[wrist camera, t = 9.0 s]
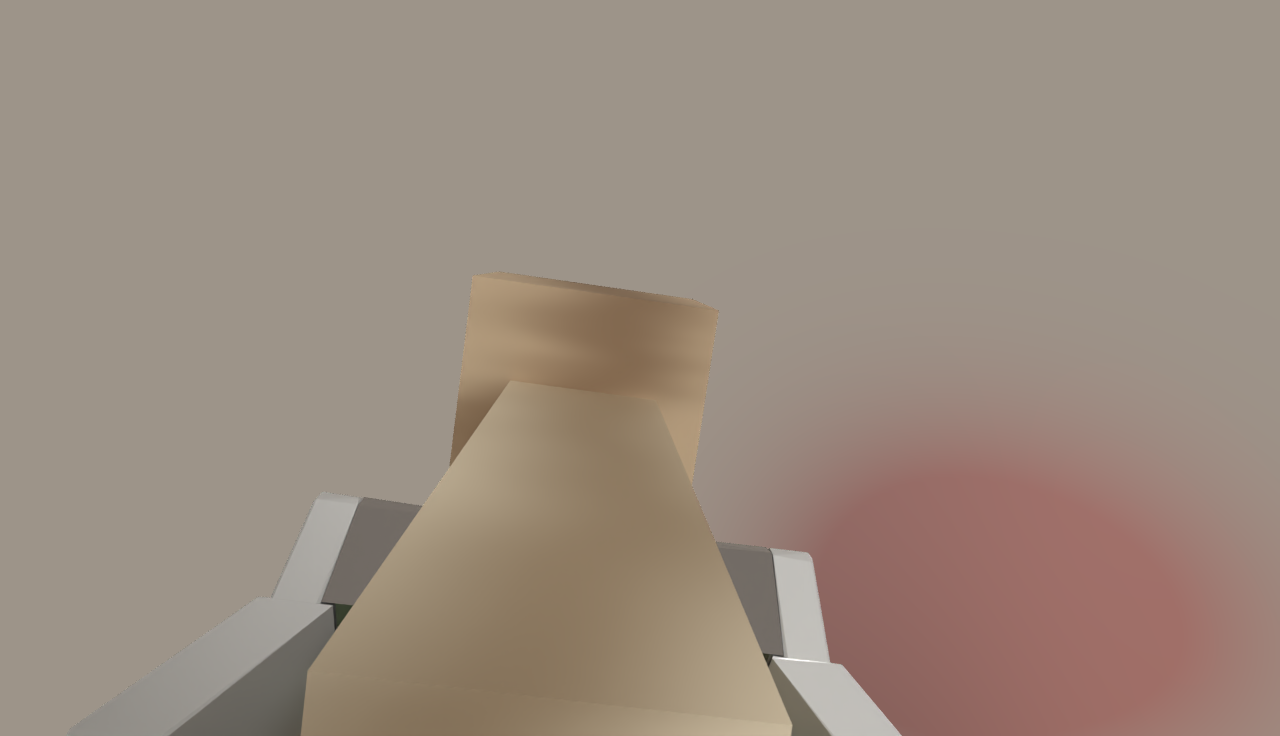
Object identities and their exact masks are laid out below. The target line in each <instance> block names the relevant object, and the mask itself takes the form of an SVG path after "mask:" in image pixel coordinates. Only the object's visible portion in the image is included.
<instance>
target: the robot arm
mask: <svg viewBox="0 0 1280 736" xmlns="http://www.w3.org/2000/svg"><path fill="white" fill-rule="evenodd" d="M421 508H422V506H419V505H412V504H406V503H399V502H392V501H386V500H379V499H372V498H366V497H364V498H361V497H354V496H348V495H341V494H334V493H327V492H322V493H321V494H320V495H319V496H318V497H317V498H316V499H315V500H314V502H313V504H312V506H311V509H310V511H309V513H308V515H307V517H306V520H305V522H304V524H303V527H302V528H301V531H300V533H299V535H298V538H297V540H296V542H295V544H294V546H293V549H292V551H291V553H290V555H289V558H288V560H287V562H286V565H285V567H284V569H283V571H282V573H281V576H280V578H279V580H278V582H277V585H276V587H275V589H274V591H273V594H272V596H271V598H268V597H257V598H255V599H254V600H252V601H251V602H250V603H248V604H247V605H245V606H244V607H242V608H241V609H240V610H238V611H237V612H235V613H234V614H233V615H231V616H230V617H228V618H227V619H225V620H224V621H222V622H221V623H220V624H218V625H217V626H215V627H214V628H213V629H211V630H210V631H208V632H207V633H205V634H204V635H203V636H201V637H200V638H198V639H197V640H195V641H194V642H193V643H191V644H190V645H188V646H187V647H185V648H184V649H183V650H181V651H180V652H178V653H177V654H175V655H174V656H173V657H171V658H170V659H168V660H167V661H166V662H164V663H163V664H161V665H160V666H158V667H157V668H156V669H154V670H153V671H151V672H150V673H149V674H147V675H146V676H144V677H143V678H141V679H140V680H138V681H137V682H136V683H134V684H133V685H131V686H130V687H128V688H127V689H126V690H124V691H123V692H122V693H120V694H118V695H117V696H116V697H114V698H113V699H112V700H110V701H109V702H107V703H106V704H104V705H103V706H101V707H100V708H99V709H97V710H96V711H95V712H93V713H92V714H90V715H89V716H87V717H86V718H84V719H83V720H81V721H80V722H79V723H77V724H76V725H74V726H73V727H72V728H70V730H69V731H68V733H67V735H66V736H301V728H302V719H303V709H304V700H305V691H306V681H307V672H308V670H309V668H310V667H311V665H312V664H313V662H314V661H315V659H316V658H317V657H318V655H319V654H320V652H321V651H322V649H323V648H324V647H325V645H326V644H327V642H328V641H329V639H330V638H331V637H332V635H333V634H334V632H335V631H336V629H337V628H338V627H339V625H340V624H341V622H342V621H343V619H344V618H345V617H346V615H347V614H348V612H349V611H350V609H351V608H352V606H353V605H354V604H355V602H356V601H357V599H358V598H359V596H360V595H361V594H362V592H363V591H364V589H365V588H366V586H367V585H368V584H369V582H370V581H371V579H372V578H373V576H374V575H375V574H376V572H377V571H378V569H379V568H380V566H381V565H382V563H383V562H384V561H385V559H386V558H387V556H388V555H389V553H390V552H391V551H392V549H393V548H394V546H395V545H396V543H397V542H398V541H399V539H400V538H401V536H402V535H403V533H404V532H405V531H406V529H407V528H408V526H409V525H410V523H411V522H412V520H413V519H414V518H415V516H416V515H417V513H418V512H419V510H420V509H421ZM716 544H717V547H718V549H719V551H720V554H721V556H722V559H723V561H724V563H725V566H726V568H727V570H728V573H729V575H730V578H731V580H732V582H733V585H734V587H735V589H736V592H737V594H738V597H739V599H740V601H741V604H742V606H743V609H744V611H745V613H746V616H747V618H748V620H749V623H750V625H751V628H752V630H753V632H754V635H755V637H756V640H757V642H758V644H759V647H760V649H761V651H762V654H763V656H764V659H765V661H766V663H767V666H768V668H769V670H770V673H771V675H772V678H773V680H774V682H775V685H776V687H777V690H778V692H779V694H780V697H781V699H782V701H783V704H784V706H785V709H786V711H787V713H788V716H789V718H790V720H791V723H792V725H793V726H792V732H791V736H902V735H901V734H900V733H899V732H898V731H897V730H896V728H895V727H894V726H893V725H892V724H891V722H890V721H889V720H888V719H887V718H886V717H885V715H884V714H883V713H882V712H881V711H880V709H879V708H878V707H877V706H876V705H875V703H874V702H873V701H872V700H871V699H870V697H869V696H868V695H867V694H866V693H865V692H864V690H863V689H862V688H861V687H860V686H859V684H858V683H857V682H856V681H855V680H854V678H852V676H851V675H850V674H849V673H848V672H847V670H846V669H845V668H844V667H843V666H842V665H841V664H834V663H830V659H829V654H828V647H827V641H826V636H825V630H824V624H823V618H822V612H821V607H820V600H819V595H818V589H817V583H816V578H815V572H814V565H813V560H812V558H811V556H810V555H809V553H806V552H798V551H790V550H781V549H772V548H769V549H767V548H766V547H758V546H749V545H739V544H731V543H722V542H716Z"/></svg>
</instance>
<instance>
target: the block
mask: <svg viewBox="0 0 1280 736" xmlns="http://www.w3.org/2000/svg"><path fill="white" fill-rule="evenodd" d="M718 312H719V311H718V310H716V309H714V308H712V307H709V306H707V305H705V304H702V303H700V302H698V301H696V300H693V299H687V298H680V297H673V296H666V295H659V294H652V293H645V292H638V291H631V290H624V289H617V288H610V287H602V286H596V285H589V284H582V283H575V282H568V281H561V280H554V279H547V278H540V277H532V276H526V275H519V274H512V273H505V272H494V273H487V274H480V275H473V279H472V287H471V296H470V304H469V312H468V320H467V329H466V336H465V345H464V352H463V361H462V369H461V377H460V385H459V394H458V402H457V411H456V418H455V426H454V434H453V443H452V451H451V459H450V467H449V469H448V470H447V472H446V473H445V475H444V476H443V478H442V479H441V480H440V482H439V483H438V485H437V486H436V488H435V489H434V490H433V492H432V493H431V495H430V496H429V498H428V499H427V500H426V502H425V503H424V505H423V506H422V508H421V509H420V510H419V512H418V513H417V515H416V516H415V518H414V519H413V520H412V522H411V523H410V525H409V526H408V528H407V529H406V531H405V532H404V533H403V535H402V536H401V538H400V539H399V541H398V542H397V543H396V545H395V546H394V548H393V549H392V551H391V552H390V553H389V555H388V556H387V558H386V559H385V561H384V562H383V563H382V565H381V566H380V568H379V569H378V571H377V572H376V574H375V575H374V576H373V578H372V579H371V581H370V582H369V584H368V585H367V586H366V588H365V589H364V591H363V592H362V594H361V595H360V596H359V598H358V599H357V601H356V602H355V604H354V605H353V606H352V608H351V609H350V611H349V612H348V614H347V615H346V617H345V618H344V619H343V621H342V622H341V624H340V625H339V627H338V628H337V629H336V631H335V632H334V634H333V635H332V637H331V638H330V639H329V641H328V642H327V644H326V645H325V647H324V648H323V649H322V651H321V652H320V654H319V655H318V657H317V658H316V659H315V661H314V662H313V664H312V665H311V667H310V668H309V670H308V672H307V681H306V691H305V700H304V709H303V719H302V728H301V736H791V732H792V726H793V725H792V723H791V720H790V718H789V716H788V713H787V711H786V709H785V706H784V704H783V701H782V699H781V697H780V694H779V692H778V690H777V687H776V685H775V682H774V680H773V678H772V675H771V673H770V670H769V668H768V666H767V663H766V661H765V659H764V656H763V654H762V651H761V649H760V647H759V644H758V642H757V640H756V637H755V635H754V632H753V630H752V628H751V625H750V623H749V620H748V618H747V616H746V613H745V611H744V609H743V606H742V604H741V601H740V599H739V597H738V594H737V592H736V589H735V587H734V585H733V582H732V580H731V578H730V575H729V573H728V570H727V568H726V566H725V563H724V561H723V559H722V556H721V554H720V551H719V549H718V547H717V544H716V542H715V539H714V537H713V535H712V532H711V530H710V528H709V525H708V523H707V521H706V518H705V516H704V514H703V511H702V509H701V506H700V504H699V501H698V499H697V497H696V494H695V492H694V489H693V487H692V481H693V475H694V468H695V461H696V455H697V449H698V442H699V435H700V429H701V423H702V416H703V410H704V403H705V397H706V390H707V384H708V377H709V371H710V364H711V358H712V351H713V344H714V338H715V331H716V325H717V319H718Z"/></svg>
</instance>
